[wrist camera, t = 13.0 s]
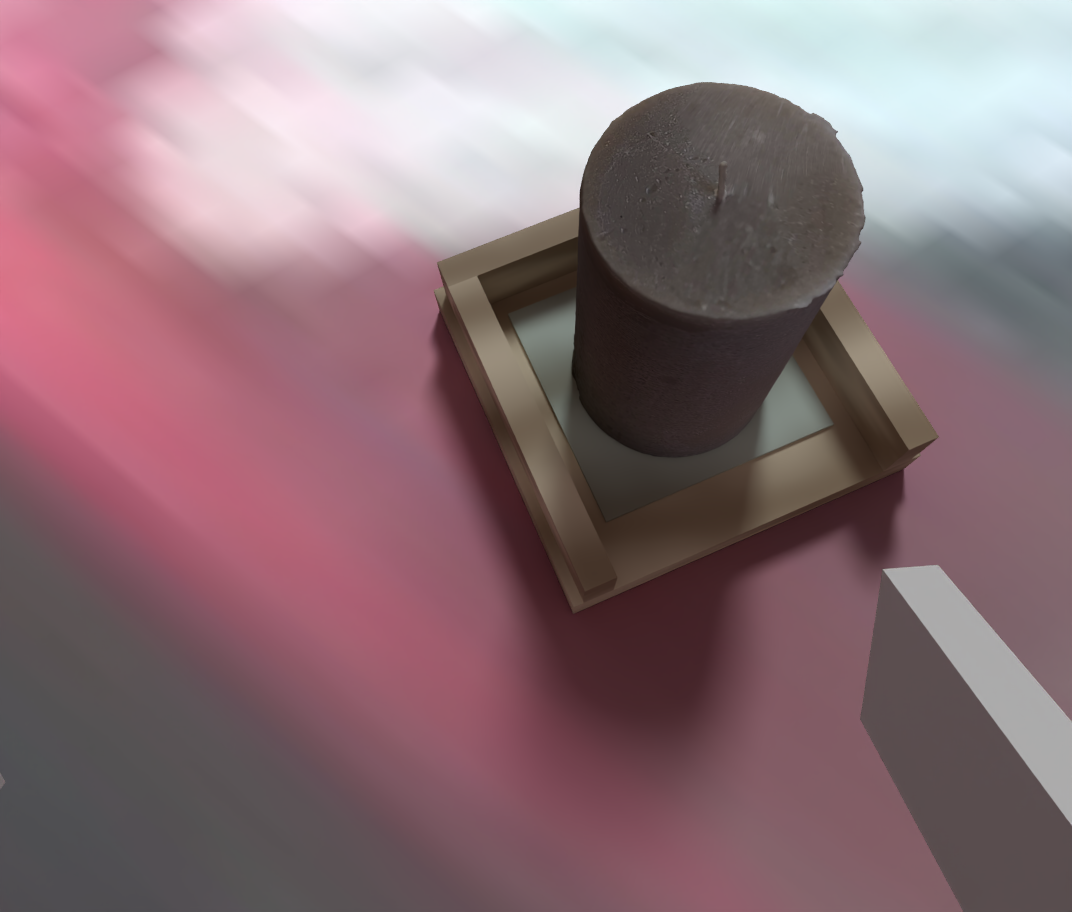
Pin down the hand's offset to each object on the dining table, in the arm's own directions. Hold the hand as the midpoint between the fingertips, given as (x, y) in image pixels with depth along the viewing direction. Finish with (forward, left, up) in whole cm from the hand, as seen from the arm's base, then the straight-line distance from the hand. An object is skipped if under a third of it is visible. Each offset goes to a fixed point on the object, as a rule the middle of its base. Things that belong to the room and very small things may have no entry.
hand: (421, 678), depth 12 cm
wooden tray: (-12, +13, -27) cm, 32 cm away
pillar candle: (-12, +13, -25) cm, 31 cm away
